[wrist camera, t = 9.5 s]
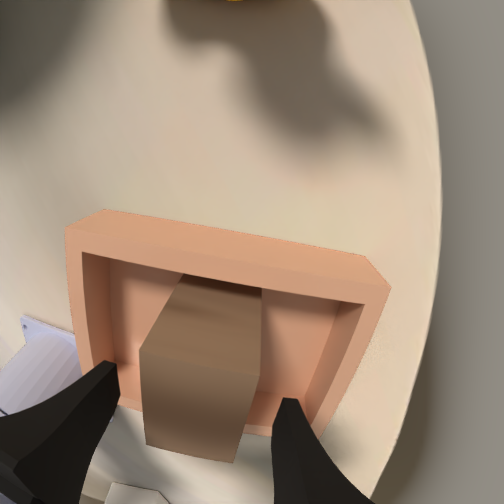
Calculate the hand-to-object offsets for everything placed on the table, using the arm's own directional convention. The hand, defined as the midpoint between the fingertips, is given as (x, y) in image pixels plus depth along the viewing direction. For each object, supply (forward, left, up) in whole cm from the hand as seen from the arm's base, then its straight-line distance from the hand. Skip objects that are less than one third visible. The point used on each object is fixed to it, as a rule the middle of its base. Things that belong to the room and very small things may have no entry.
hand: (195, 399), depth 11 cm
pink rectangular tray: (0, 0, -7) cm, 7 cm away
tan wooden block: (0, 0, -6) cm, 6 cm away
